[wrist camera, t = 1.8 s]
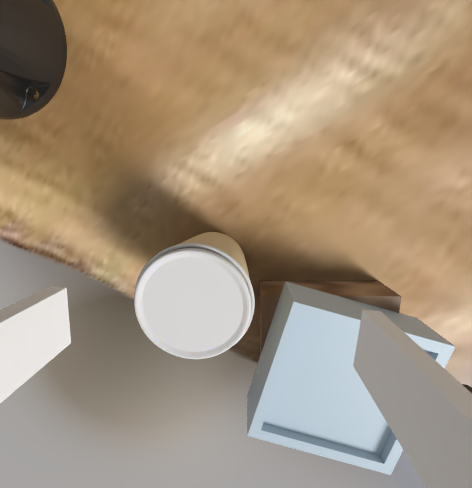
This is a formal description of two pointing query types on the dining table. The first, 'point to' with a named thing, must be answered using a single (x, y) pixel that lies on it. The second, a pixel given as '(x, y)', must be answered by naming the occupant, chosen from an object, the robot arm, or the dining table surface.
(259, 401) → the block top
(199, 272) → the coffee cup
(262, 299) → the block bottom
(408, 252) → the dining table surface
